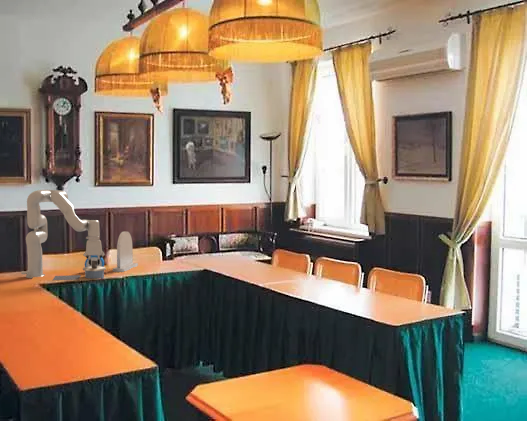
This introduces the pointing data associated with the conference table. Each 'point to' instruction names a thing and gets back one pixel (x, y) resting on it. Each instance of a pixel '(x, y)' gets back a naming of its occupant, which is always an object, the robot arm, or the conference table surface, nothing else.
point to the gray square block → (94, 274)
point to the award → (124, 253)
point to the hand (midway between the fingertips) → (94, 264)
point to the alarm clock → (94, 257)
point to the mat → (67, 277)
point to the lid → (94, 267)
